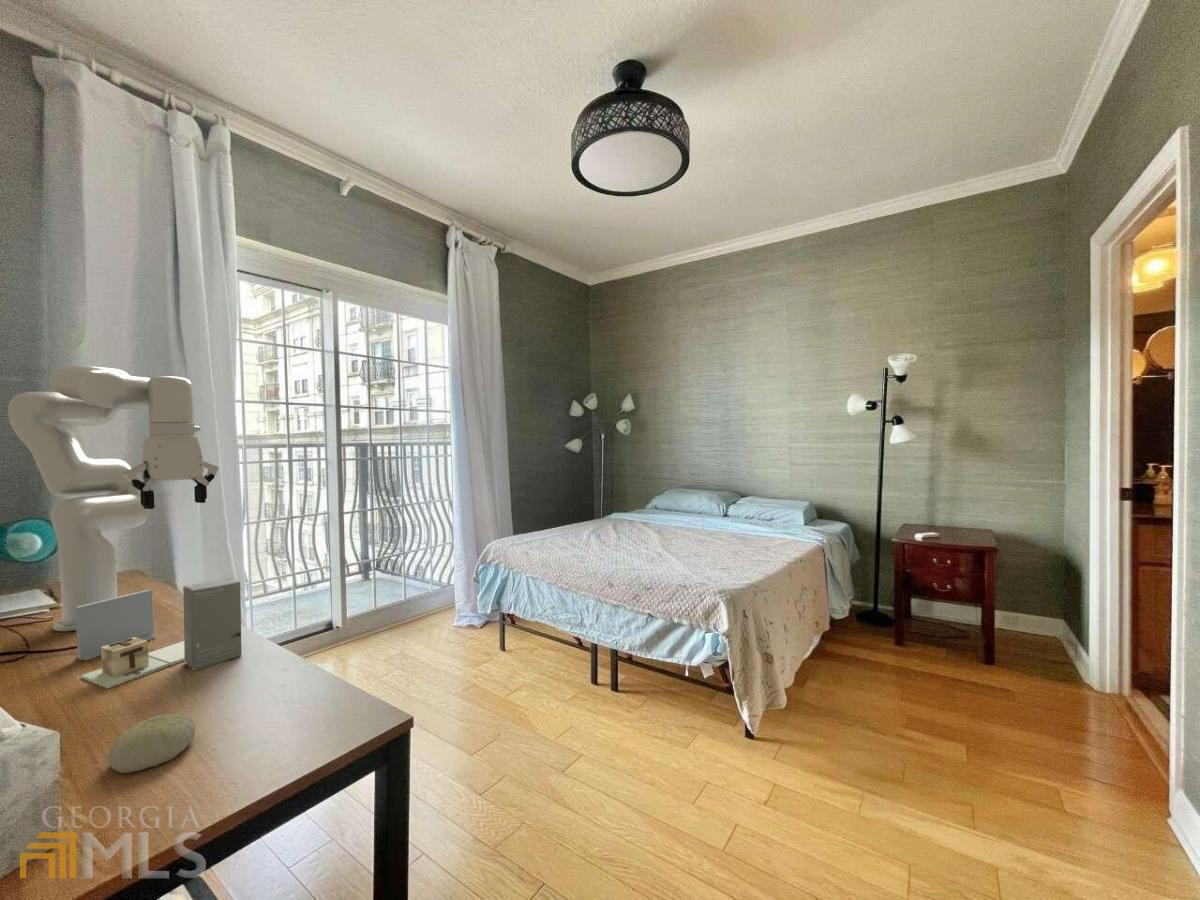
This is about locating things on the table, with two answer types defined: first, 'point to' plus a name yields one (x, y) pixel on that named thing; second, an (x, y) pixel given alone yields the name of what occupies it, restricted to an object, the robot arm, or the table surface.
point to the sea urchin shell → (151, 742)
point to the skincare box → (212, 622)
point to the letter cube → (124, 656)
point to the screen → (113, 622)
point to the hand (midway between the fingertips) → (175, 505)
